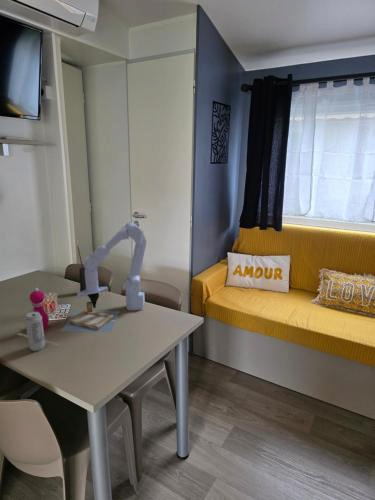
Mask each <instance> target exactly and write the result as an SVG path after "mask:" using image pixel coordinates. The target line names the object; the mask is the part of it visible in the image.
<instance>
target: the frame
mask: <svg viewBox="0 0 375 500" xmlns="http://www.w3.org/2000/svg"><path fill="white" fill-rule="evenodd" d="M82 311H83V312H81V313H79V314H78V315H76V316H75V317H73V318H72V319H70V318H69V319H70V320H69V319H68V321H69V323H72V324H76V325H81V326H85V327H90V328H94V329H100V328H101V327H102V326H104V325H105V324H106V323H108V322H109V321H110V320H112V319H113V318H114V315H111V314H106V313H101V312H97V311H98V310H97V311H95V310H93V305H92V302H91V301H87V302H86V309H85V310H82Z"/></svg>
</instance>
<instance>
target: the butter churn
mask: <svg viewBox="0 0 375 500" xmlns="http://www.w3.org/2000/svg"><path fill="white" fill-rule="evenodd" d="M77 252H78V257H79V260H80V265H81V267H80V268H79V269H78V271H79V273H78V274H79V279H78V280H79V292H81V291H84V290H86V278H85V267H84V266H83V262H82V257H81V253H80V248H79V246H78V245H77Z"/></svg>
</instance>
